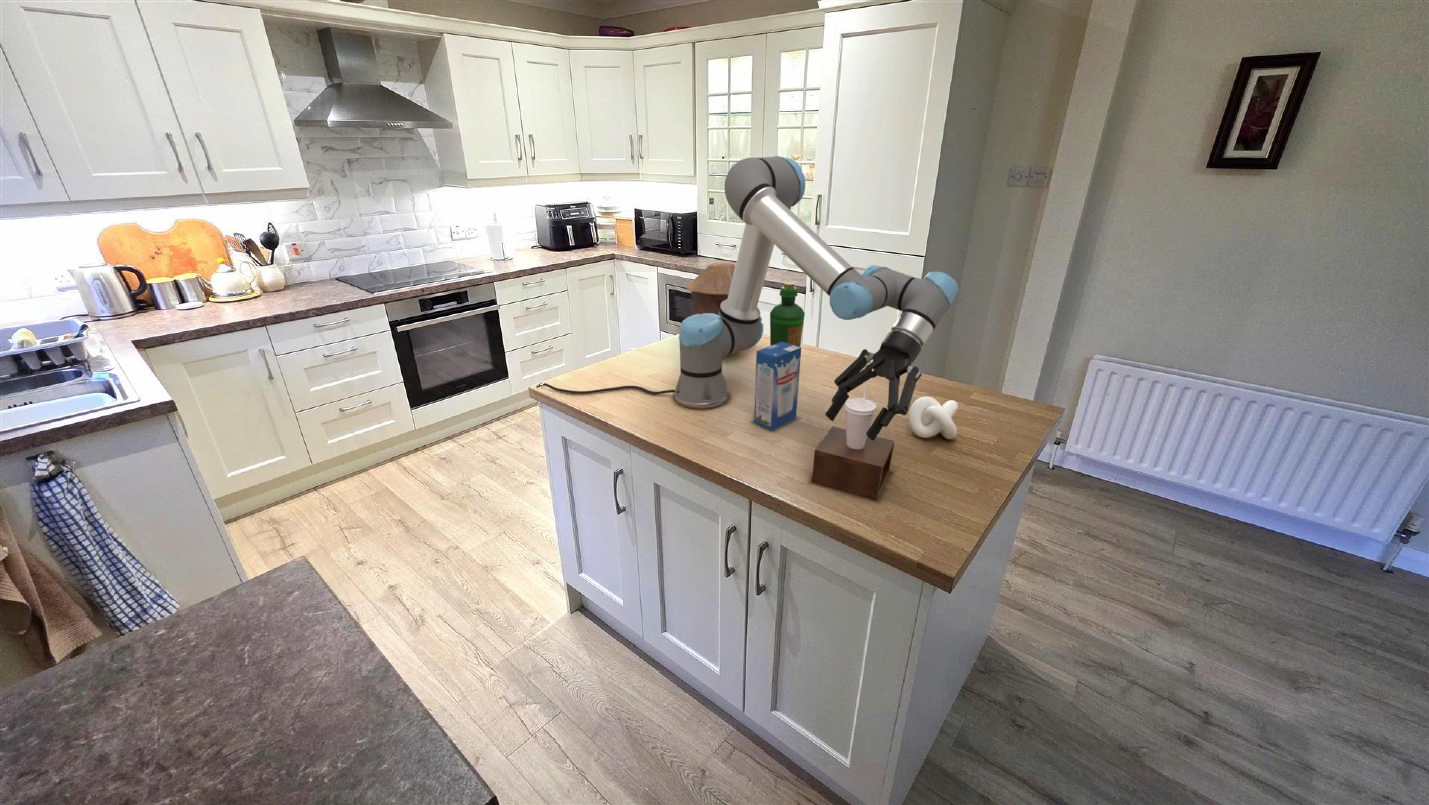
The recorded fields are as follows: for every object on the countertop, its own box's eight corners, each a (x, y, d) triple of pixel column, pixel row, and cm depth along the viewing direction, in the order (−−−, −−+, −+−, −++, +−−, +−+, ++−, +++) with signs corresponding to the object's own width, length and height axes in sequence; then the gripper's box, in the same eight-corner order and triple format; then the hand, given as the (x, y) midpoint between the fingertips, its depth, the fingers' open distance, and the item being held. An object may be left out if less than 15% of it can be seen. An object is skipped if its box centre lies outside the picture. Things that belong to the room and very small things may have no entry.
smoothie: (871, 454, 114) (880, 392, 107) (840, 450, 115) (847, 389, 109) (870, 439, 119) (878, 380, 113) (840, 436, 120) (846, 377, 114)
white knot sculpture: (921, 417, 146) (927, 387, 142) (966, 433, 139) (974, 401, 135) (901, 432, 139) (906, 400, 135) (948, 449, 131) (955, 416, 127)
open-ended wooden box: (811, 482, 119) (814, 449, 115) (828, 456, 128) (831, 425, 125) (876, 500, 113) (881, 466, 109) (889, 472, 122) (894, 440, 119)
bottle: (802, 376, 171) (809, 287, 159) (768, 376, 172) (772, 287, 159) (798, 363, 181) (804, 279, 169) (766, 363, 181) (770, 279, 169)
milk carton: (778, 410, 150) (782, 341, 141) (796, 418, 146) (801, 347, 137) (753, 422, 143) (756, 350, 135) (771, 431, 139) (775, 357, 131)
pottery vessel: (725, 369, 176) (726, 276, 163) (670, 350, 192) (667, 264, 179) (773, 348, 194) (777, 263, 181) (719, 333, 209) (719, 253, 196)
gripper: (960, 364, 109) (901, 457, 108) (868, 335, 125) (815, 415, 124) (950, 344, 104) (888, 441, 102) (856, 316, 120) (800, 400, 118)
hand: (848, 427), depth 113 cm, fingers open, 10 cm apart
